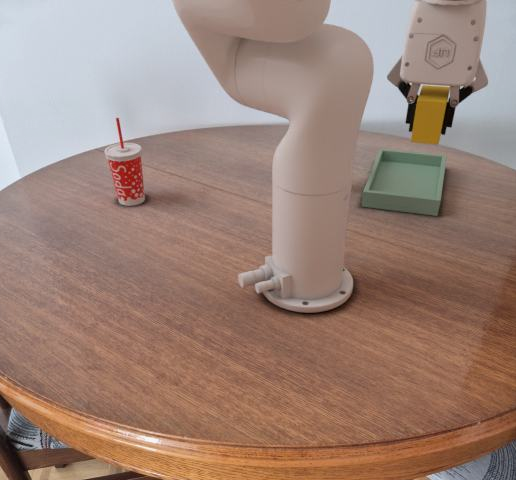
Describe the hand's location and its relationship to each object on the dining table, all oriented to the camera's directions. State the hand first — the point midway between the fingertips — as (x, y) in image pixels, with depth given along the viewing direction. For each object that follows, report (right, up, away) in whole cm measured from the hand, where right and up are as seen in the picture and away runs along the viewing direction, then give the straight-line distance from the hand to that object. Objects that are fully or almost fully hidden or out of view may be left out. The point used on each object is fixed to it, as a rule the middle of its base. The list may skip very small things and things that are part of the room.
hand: (427, 128), depth 82 cm
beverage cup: (-48, -7, +14) cm, 51 cm away
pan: (+1, -4, +16) cm, 17 cm away
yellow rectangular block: (0, -1, +1) cm, 1 cm away
